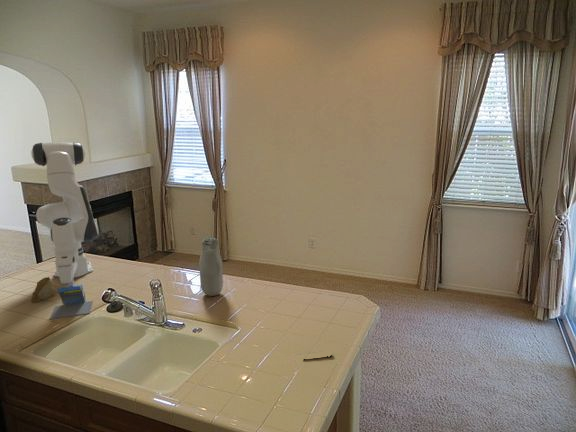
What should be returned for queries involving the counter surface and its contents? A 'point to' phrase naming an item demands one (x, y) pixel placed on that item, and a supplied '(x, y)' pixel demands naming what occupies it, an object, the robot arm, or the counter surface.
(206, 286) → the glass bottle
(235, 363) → the counter surface
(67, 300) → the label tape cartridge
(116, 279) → the counter surface
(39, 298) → the rock
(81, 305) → the mat
